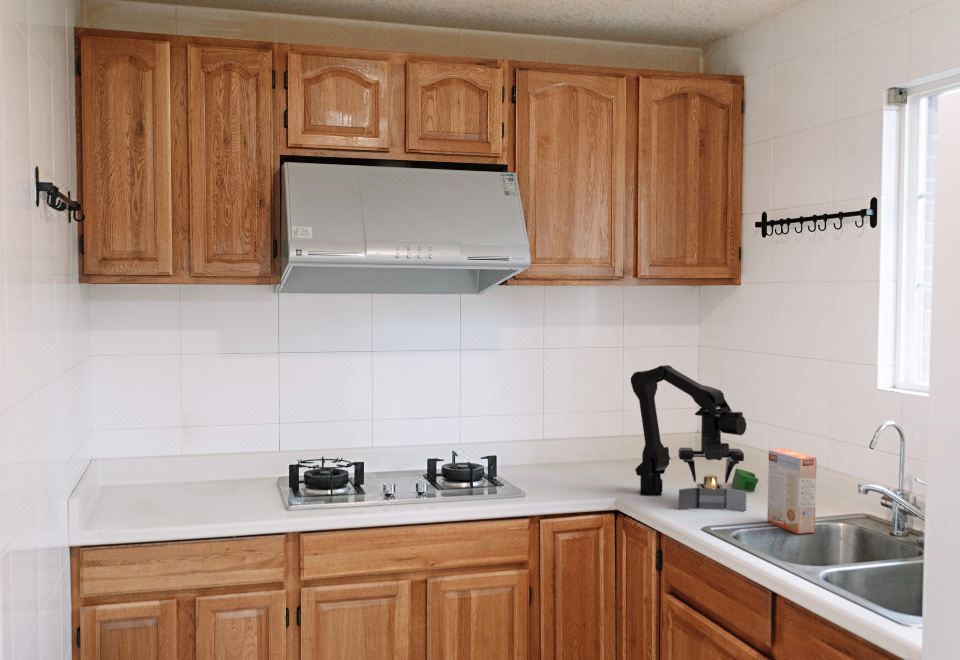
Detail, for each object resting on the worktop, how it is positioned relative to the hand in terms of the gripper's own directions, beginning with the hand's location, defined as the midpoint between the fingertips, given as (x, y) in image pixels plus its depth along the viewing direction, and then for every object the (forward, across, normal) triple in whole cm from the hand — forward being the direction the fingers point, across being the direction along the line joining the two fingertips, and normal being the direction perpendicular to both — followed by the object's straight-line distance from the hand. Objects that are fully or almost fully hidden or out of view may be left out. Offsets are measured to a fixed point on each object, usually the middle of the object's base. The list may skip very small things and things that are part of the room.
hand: (710, 482), depth 272 cm
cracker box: (+7, +19, -22) cm, 30 cm away
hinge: (+7, 0, -1) cm, 7 cm away
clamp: (+8, +14, +24) cm, 29 cm away
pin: (+7, 0, 0) cm, 7 cm away
